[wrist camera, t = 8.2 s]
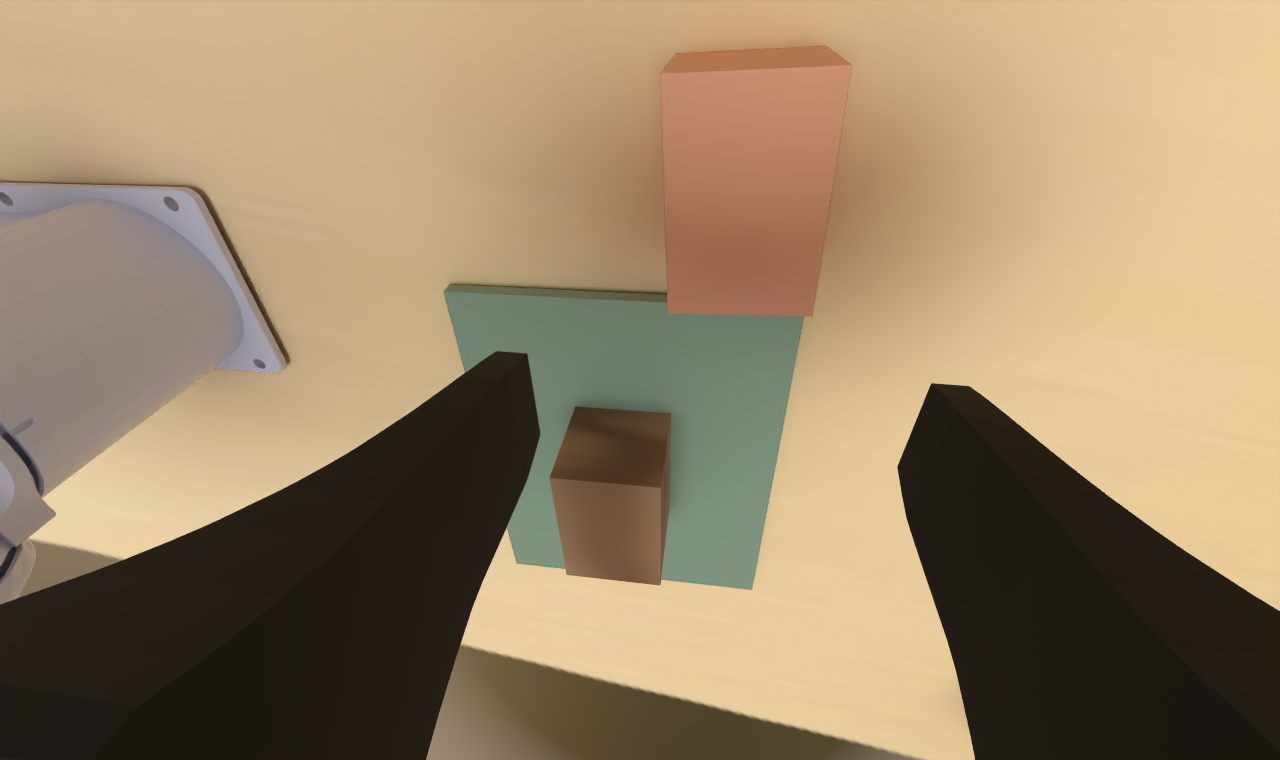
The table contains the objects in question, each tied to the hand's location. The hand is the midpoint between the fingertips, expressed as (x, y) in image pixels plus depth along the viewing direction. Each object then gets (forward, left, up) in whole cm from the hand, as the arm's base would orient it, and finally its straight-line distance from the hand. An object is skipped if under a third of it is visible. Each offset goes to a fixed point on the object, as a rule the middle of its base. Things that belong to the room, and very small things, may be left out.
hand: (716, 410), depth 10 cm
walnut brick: (-4, -11, -9) cm, 14 cm away
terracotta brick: (0, +2, -10) cm, 10 cm away
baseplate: (-4, -11, -9) cm, 15 cm away
